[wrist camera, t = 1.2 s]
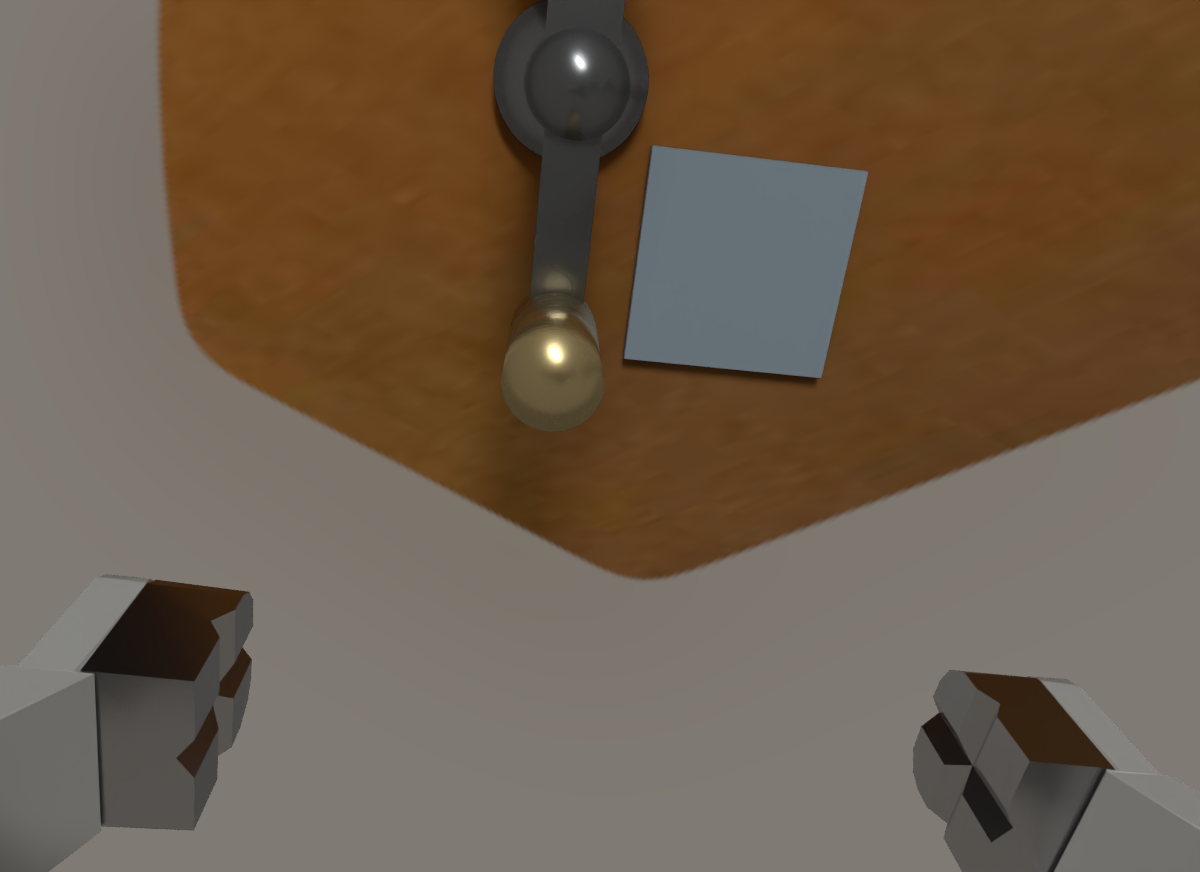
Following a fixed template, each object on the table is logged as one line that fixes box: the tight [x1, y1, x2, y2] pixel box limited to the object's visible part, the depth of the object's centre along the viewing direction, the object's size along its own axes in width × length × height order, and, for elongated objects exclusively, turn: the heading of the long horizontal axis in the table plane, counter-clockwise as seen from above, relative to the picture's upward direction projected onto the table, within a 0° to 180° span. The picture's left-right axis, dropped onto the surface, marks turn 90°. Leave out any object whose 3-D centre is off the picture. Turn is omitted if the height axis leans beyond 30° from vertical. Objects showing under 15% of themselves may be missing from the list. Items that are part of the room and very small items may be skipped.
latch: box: [502, 0, 630, 432], centre depth 21 cm, size 3×19×6 cm, turn 173°
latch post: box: [494, 0, 649, 157], centre depth 29 cm, size 6×6×10 cm
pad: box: [623, 145, 868, 378], centre depth 37 cm, size 9×9×1 cm
